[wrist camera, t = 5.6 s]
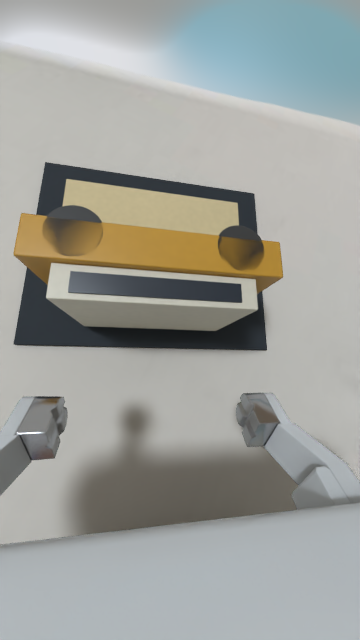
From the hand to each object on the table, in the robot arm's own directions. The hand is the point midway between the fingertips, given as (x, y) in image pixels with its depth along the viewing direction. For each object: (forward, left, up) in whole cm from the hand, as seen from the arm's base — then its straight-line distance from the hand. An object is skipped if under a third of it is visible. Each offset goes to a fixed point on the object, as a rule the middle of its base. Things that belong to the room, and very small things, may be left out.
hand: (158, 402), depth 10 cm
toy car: (-1, -7, -8) cm, 11 cm away
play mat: (-2, -12, -8) cm, 14 cm away
